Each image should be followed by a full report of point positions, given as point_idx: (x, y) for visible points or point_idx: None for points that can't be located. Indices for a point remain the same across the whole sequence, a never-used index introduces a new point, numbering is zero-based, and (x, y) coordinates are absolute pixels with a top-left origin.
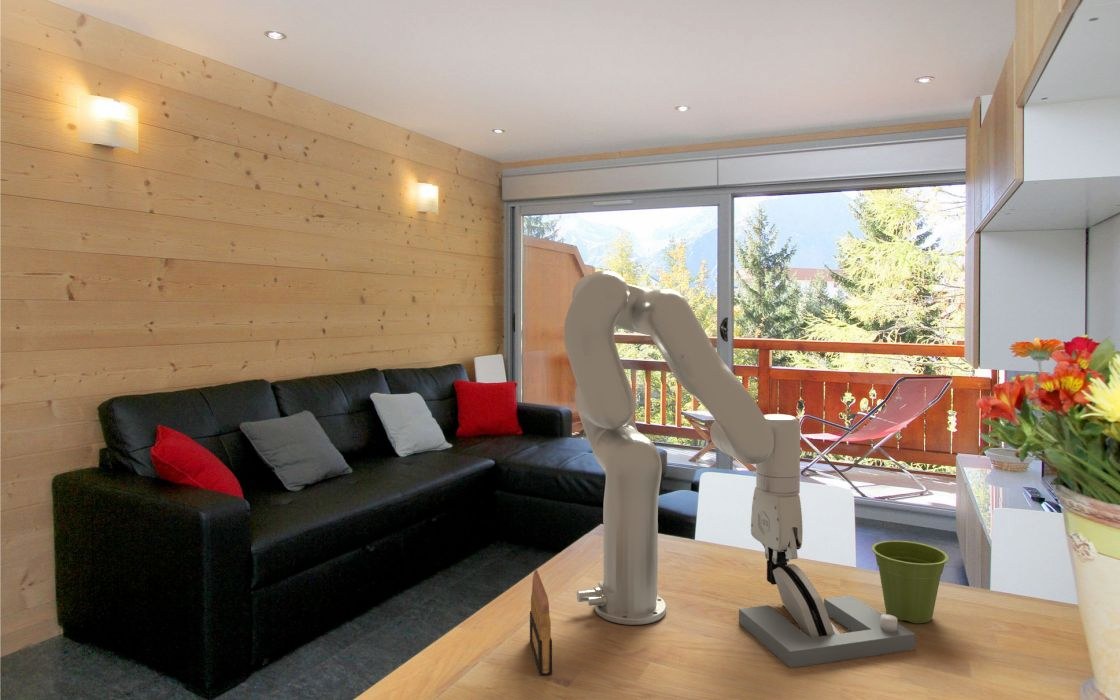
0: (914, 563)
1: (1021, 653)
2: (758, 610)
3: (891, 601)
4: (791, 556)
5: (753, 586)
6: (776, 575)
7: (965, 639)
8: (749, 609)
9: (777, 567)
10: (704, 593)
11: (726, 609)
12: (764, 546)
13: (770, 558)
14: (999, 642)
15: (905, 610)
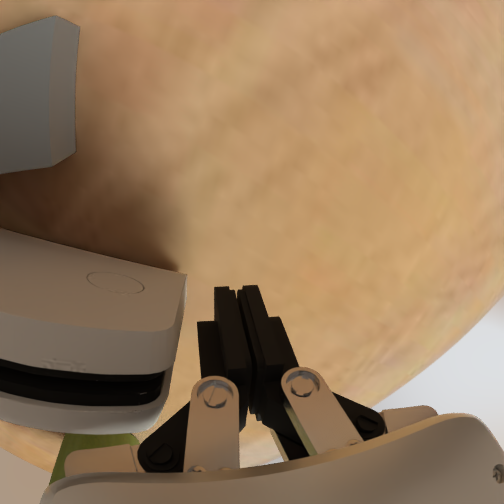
0: None
1: (13, 441)
2: (17, 99)
3: (80, 446)
4: (68, 469)
5: (351, 252)
6: (73, 312)
7: (31, 433)
8: (35, 60)
9: (203, 370)
10: (376, 48)
11: (211, 31)
12: (351, 421)
13: (280, 386)
14: (34, 446)
15: (64, 440)
